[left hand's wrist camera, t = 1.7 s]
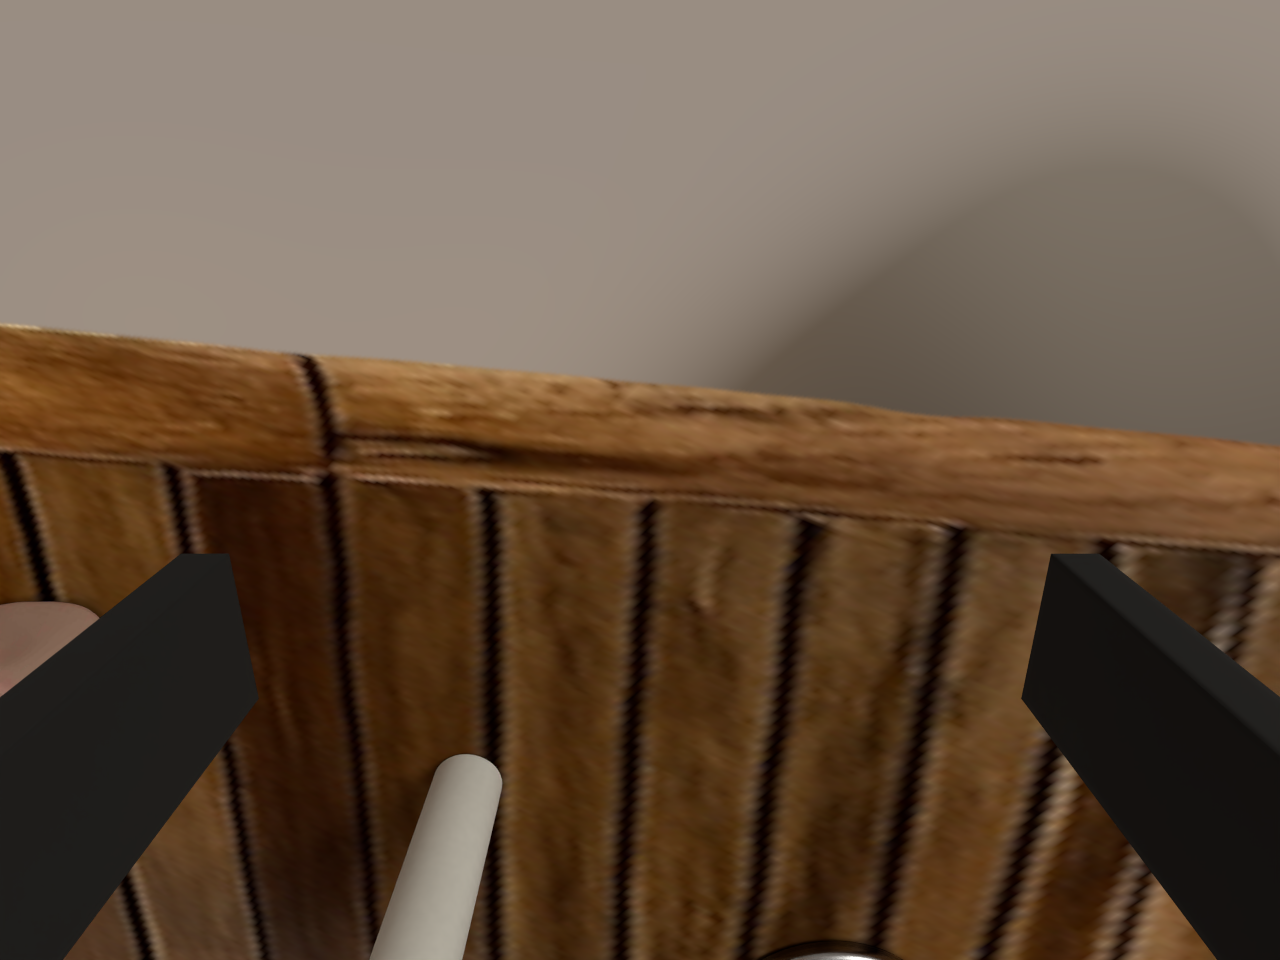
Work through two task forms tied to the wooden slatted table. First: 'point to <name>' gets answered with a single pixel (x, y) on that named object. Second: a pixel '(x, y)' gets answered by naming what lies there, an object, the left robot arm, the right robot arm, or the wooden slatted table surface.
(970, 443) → the wooden slatted table surface
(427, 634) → the wooden slatted table surface
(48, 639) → the anatomical model
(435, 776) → the white tube
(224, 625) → the left robot arm
